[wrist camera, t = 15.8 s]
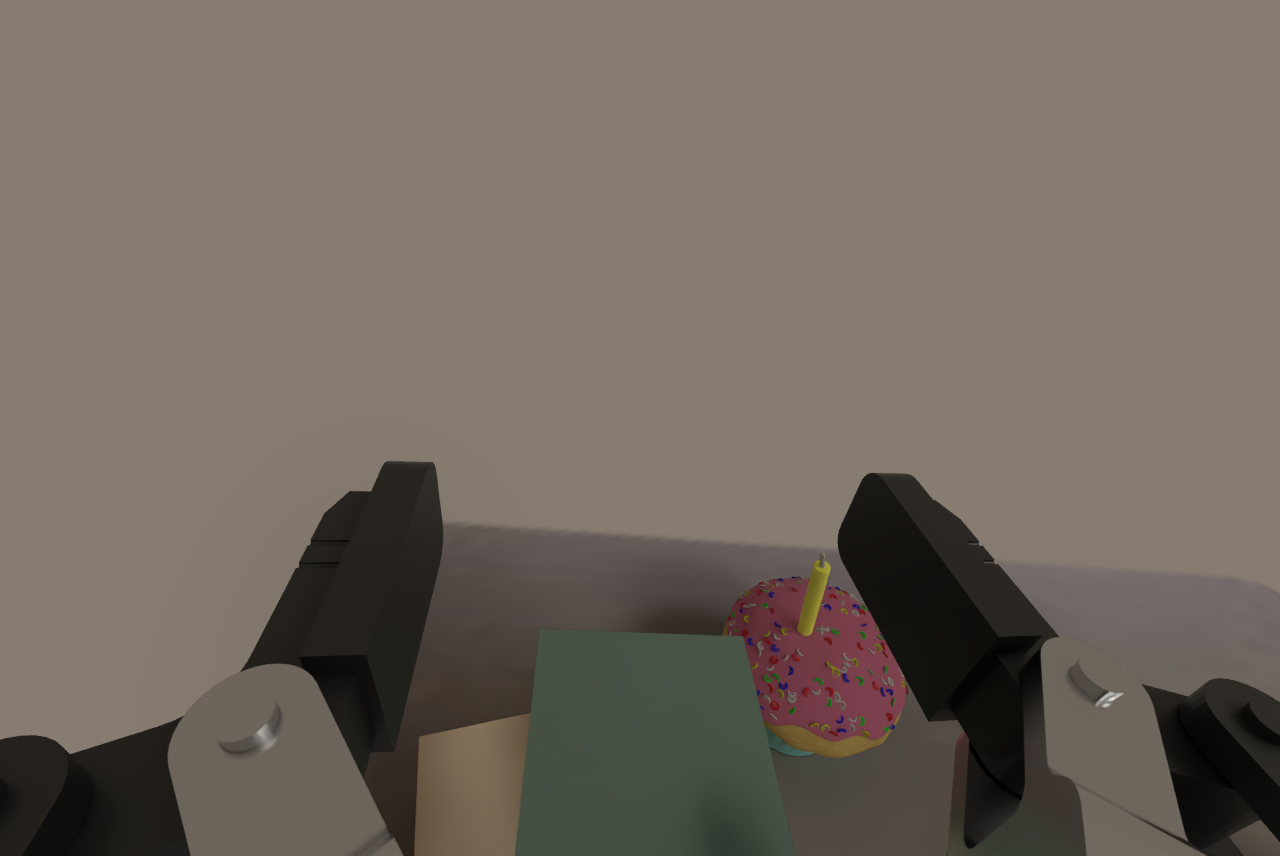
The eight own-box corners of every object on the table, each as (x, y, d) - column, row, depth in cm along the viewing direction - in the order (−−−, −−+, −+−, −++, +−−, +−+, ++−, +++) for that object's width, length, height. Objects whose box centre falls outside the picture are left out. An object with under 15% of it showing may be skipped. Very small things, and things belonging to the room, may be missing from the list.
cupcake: (751, 823, 23) (842, 665, 17) (679, 651, 30) (725, 488, 23) (905, 767, 26) (1036, 612, 20) (808, 621, 33) (882, 467, 26)
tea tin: (688, 768, 21) (743, 636, 16) (714, 989, 16) (804, 893, 11) (531, 767, 20) (539, 629, 15) (507, 999, 15) (509, 901, 10)
